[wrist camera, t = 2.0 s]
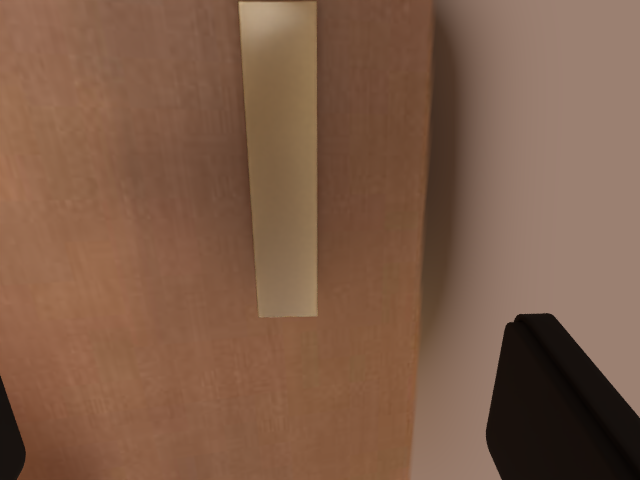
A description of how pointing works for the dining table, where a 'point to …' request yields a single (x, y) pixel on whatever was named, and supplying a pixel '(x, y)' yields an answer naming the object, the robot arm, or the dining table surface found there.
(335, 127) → the dining table surface
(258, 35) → the stick
